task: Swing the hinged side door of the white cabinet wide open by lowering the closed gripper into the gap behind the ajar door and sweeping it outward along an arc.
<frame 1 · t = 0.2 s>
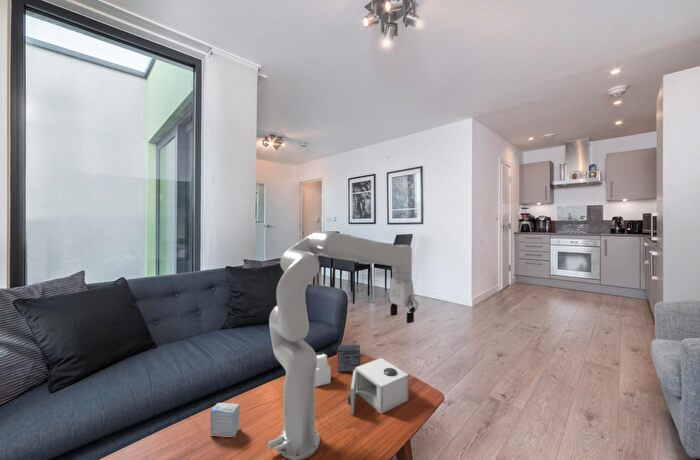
hand: (401, 318, 111), 31 cm above the table, fingers open, 9 cm apart
white cabinet: (381, 395, 111), on the table
side door: (352, 390, 106), point 5 cm above the table, hinge at 40.0°
small box: (349, 369, 131), on the table
medicine box: (225, 433, 91), on the table
white square bottle: (320, 381, 121), on the table
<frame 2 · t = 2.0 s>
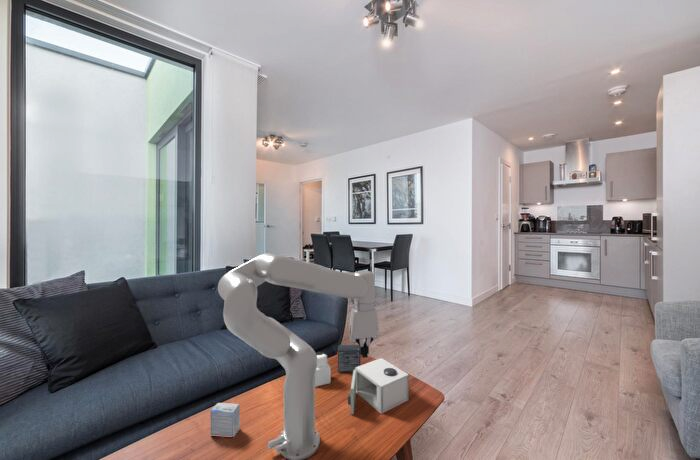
hand: (364, 355, 101), 21 cm above the table, fingers closed
nothing on the table moved.
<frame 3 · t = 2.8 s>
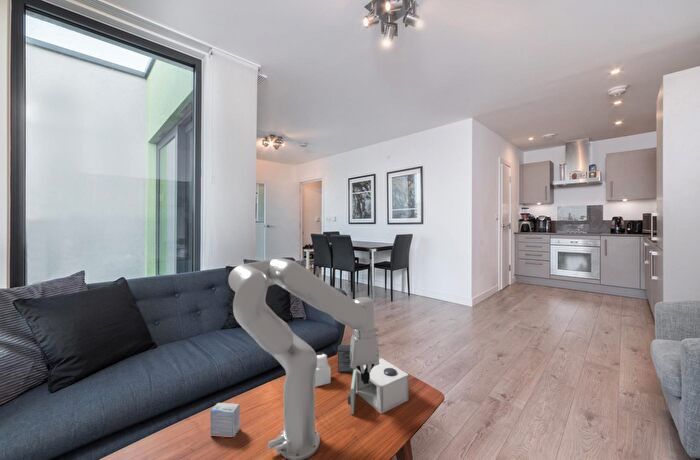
hand: (365, 381, 102), 11 cm above the table, fingers closed
nothing on the table moved.
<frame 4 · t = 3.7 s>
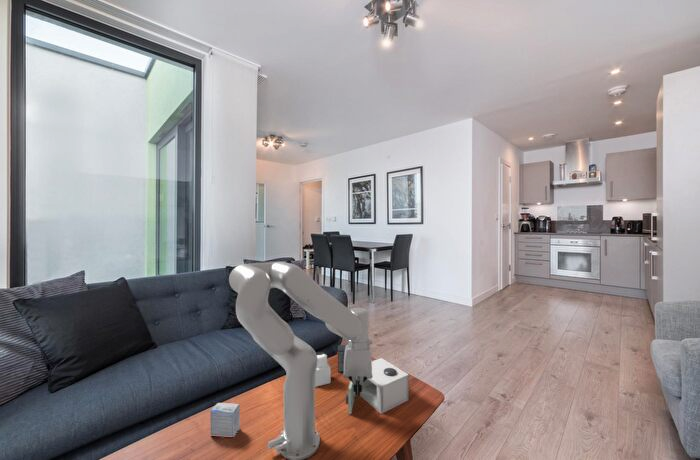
hand: (357, 393, 101), 7 cm above the table, fingers closed
side door: (351, 390, 106), point 5 cm above the table, hinge at 43.8°, touching gripper
everything else where it was.
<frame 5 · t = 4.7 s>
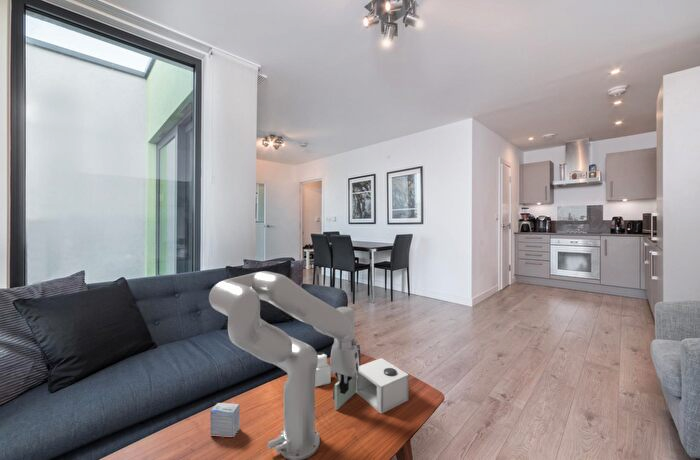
hand: (344, 391, 102), 7 cm above the table, fingers closed
side door: (344, 388, 108), point 5 cm above the table, hinge at 68.8°, touching gripper
everything else where it was.
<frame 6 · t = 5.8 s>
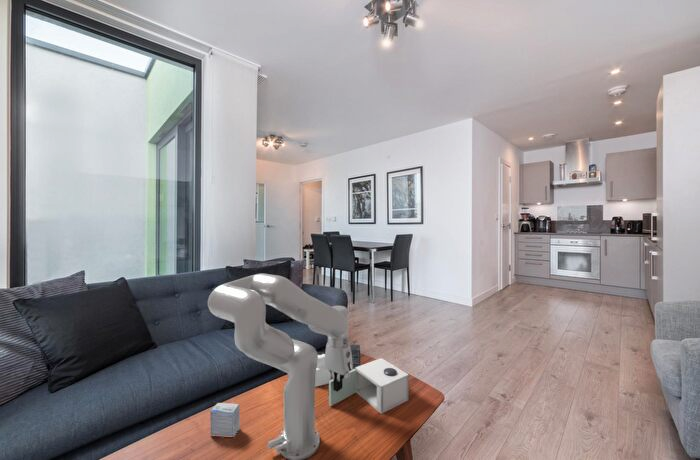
hand: (337, 389, 103), 7 cm above the table, fingers closed
side door: (342, 386, 109), point 5 cm above the table, hinge at 82.7°, touching gripper
everything else where it was.
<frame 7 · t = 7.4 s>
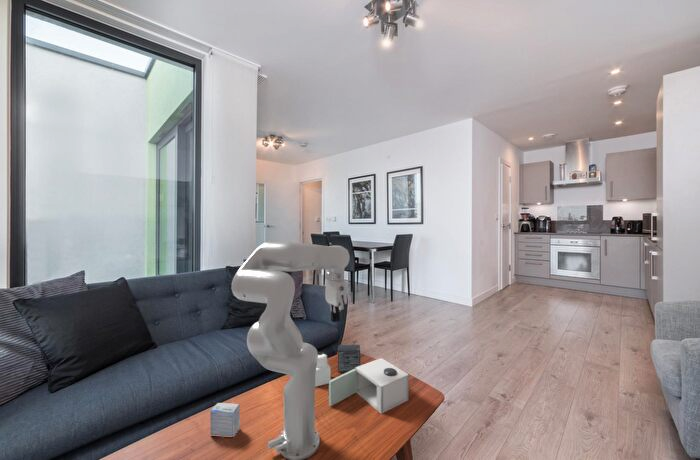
hand: (335, 321, 113), 29 cm above the table, fingers closed
side door: (342, 386, 109), point 5 cm above the table, hinge at 82.7°
everything else where it was.
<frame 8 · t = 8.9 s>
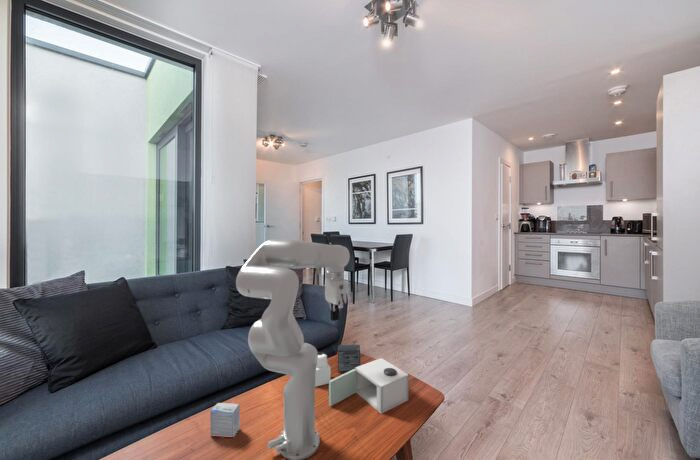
hand: (334, 319, 114), 29 cm above the table, fingers closed
nothing on the table moved.
at the end: side door at +83° (first picture: +40°) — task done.
